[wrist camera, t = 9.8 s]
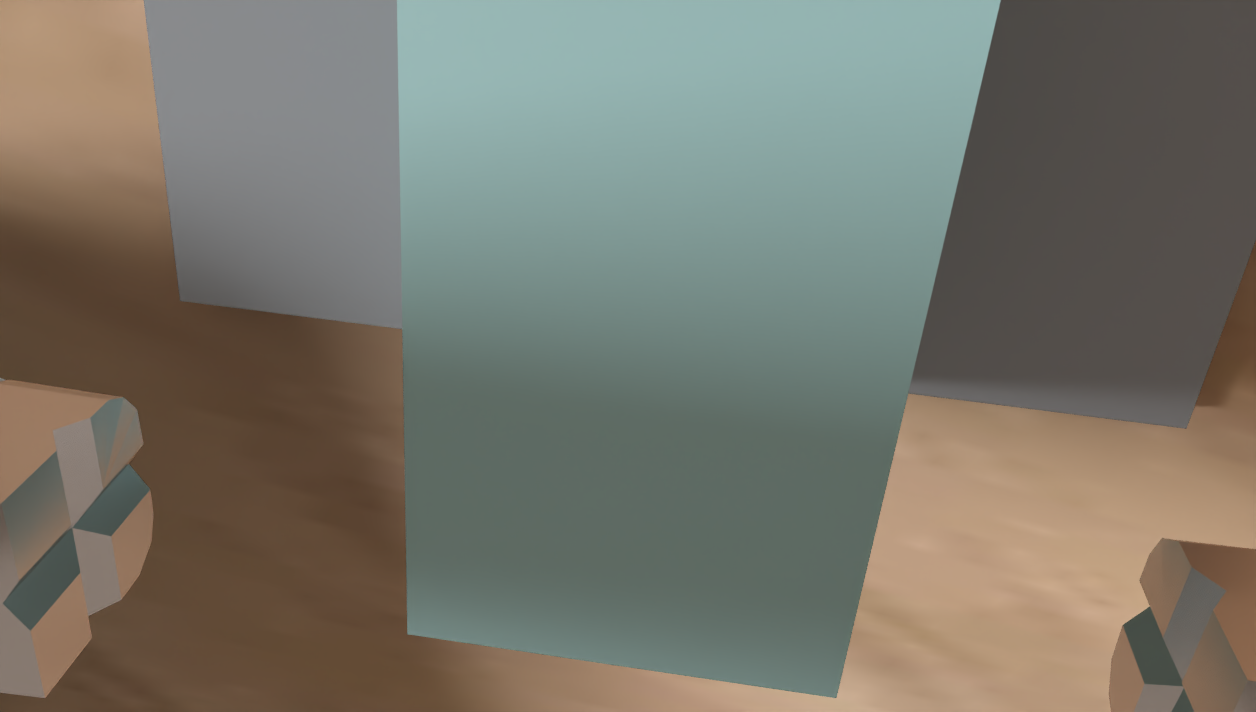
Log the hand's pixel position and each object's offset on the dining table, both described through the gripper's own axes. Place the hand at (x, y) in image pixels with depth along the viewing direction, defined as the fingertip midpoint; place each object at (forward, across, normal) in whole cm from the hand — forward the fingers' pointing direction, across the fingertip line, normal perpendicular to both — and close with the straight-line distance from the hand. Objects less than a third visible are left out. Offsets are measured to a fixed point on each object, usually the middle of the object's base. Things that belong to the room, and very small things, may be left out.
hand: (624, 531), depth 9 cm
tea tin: (+4, 0, +2) cm, 4 cm away
